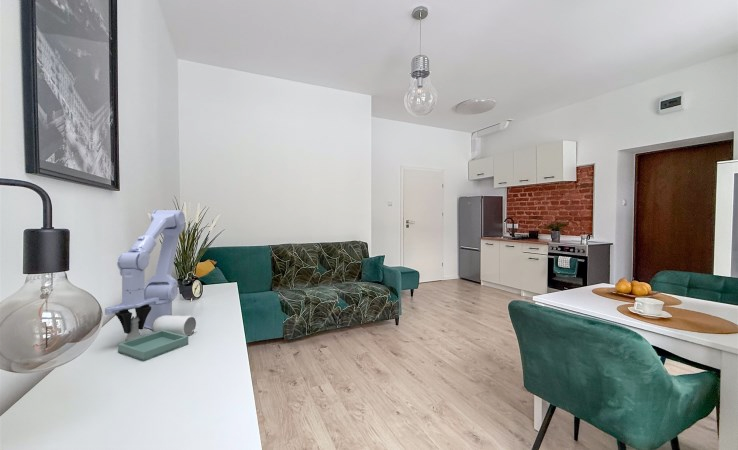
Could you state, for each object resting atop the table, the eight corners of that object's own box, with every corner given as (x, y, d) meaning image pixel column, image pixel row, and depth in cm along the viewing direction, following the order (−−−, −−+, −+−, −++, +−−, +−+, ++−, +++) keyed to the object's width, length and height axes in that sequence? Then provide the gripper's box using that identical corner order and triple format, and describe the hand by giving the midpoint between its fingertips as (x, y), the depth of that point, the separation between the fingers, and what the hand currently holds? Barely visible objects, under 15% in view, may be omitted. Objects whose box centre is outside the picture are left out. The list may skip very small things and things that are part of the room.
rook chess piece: (132, 345, 95) (132, 320, 95) (121, 344, 96) (121, 319, 96) (145, 339, 99) (145, 315, 99) (134, 338, 100) (134, 314, 100)
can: (183, 319, 101) (150, 318, 102) (183, 338, 101) (150, 337, 102) (196, 313, 107) (165, 313, 108) (196, 331, 107) (165, 330, 108)
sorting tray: (117, 352, 90) (117, 344, 90) (163, 337, 102) (163, 330, 102) (143, 361, 84) (143, 352, 84) (188, 344, 96) (188, 336, 96)
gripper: (113, 295, 89) (113, 341, 89) (164, 286, 102) (164, 325, 103) (101, 292, 92) (101, 337, 92) (151, 284, 105) (151, 322, 106)
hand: (133, 330), depth 98 cm, fingers closed on rook chess piece, 3 cm apart
